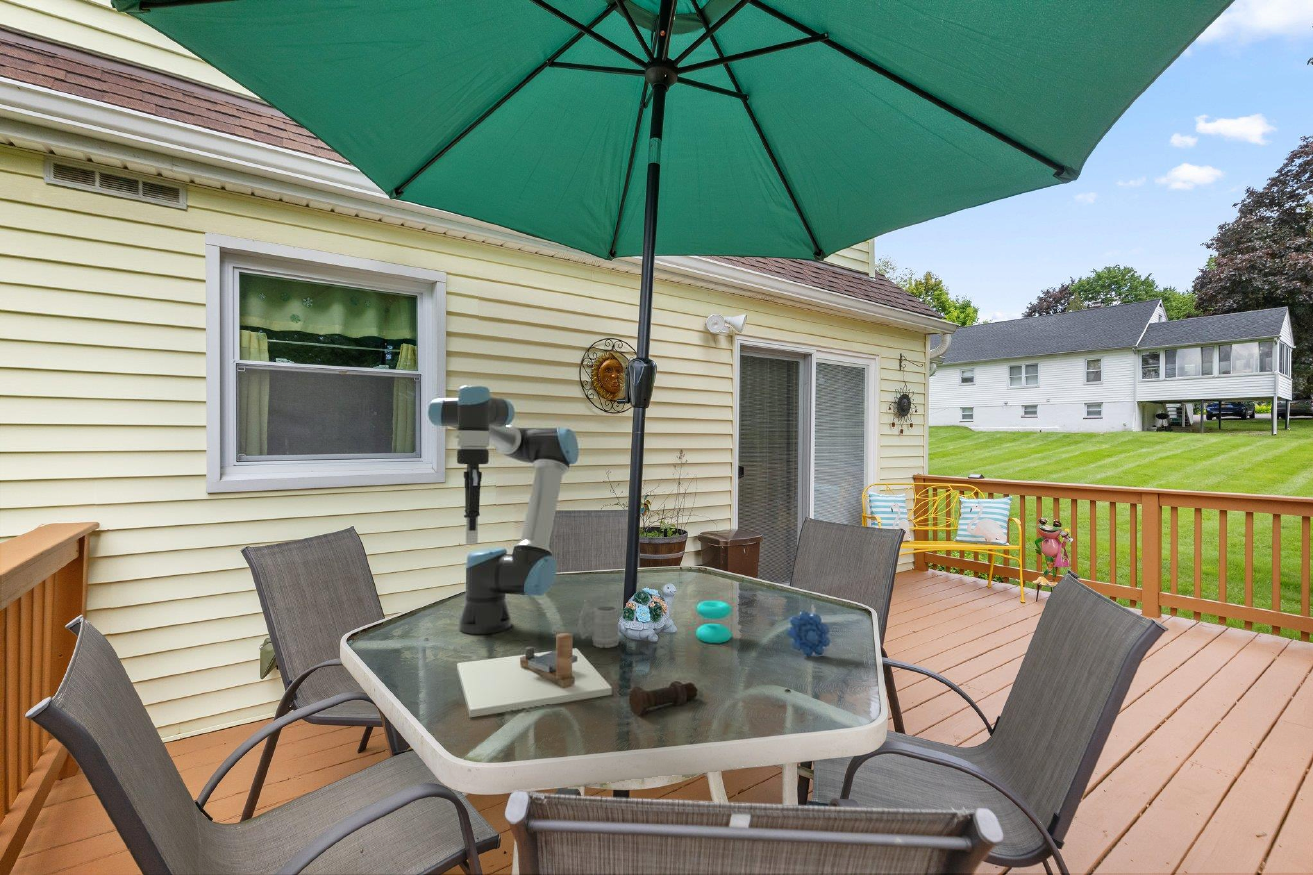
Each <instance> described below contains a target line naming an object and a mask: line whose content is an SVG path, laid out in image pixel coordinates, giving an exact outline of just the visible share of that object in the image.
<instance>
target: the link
mask: <svg viewBox="0 0 1313 875" xmlns="http://www.w3.org/2000/svg"><path fill="white" fill-rule="evenodd" d="M573 636H574V635H573V634H572V633H569V632H565V633H564V632H563V633H557V634H556V636H555V637H556V640H555V641H556V642H555V646H556V648H555V650H556V670H554V671H552V672H546V671H543V670H540V669H537V668H534V667H531V666H528V660H530V659H533V658H536V657H538V656H536V655H534V654H535V647H533V646H527V647H525V655H526V656H523V657H520V666H522V667H525V668H529V669H531V670H533V671H534V672H536V673H538V674H540V675H542V676H543V677H545V678H547V679H549V680H551V681H552V682H554V683H556V684H558V685H560V686H561V687H566V686H569V685H573V684H574V683H575V677H573V676H572V649H573V644H574V643H573V642H574V641H573V640H574V639H573Z"/></svg>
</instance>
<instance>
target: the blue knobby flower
mask: <svg viewBox="0 0 1313 875" xmlns="http://www.w3.org/2000/svg"><path fill="white" fill-rule="evenodd" d="M789 623H790V625H791V626H789V627H788V628H787V630H786V633H787V636H788V637H789V638H790V639H792V640H791V646H792V648H793V649H794V650H796V651H800V650H801V652H802V655H804V656H805V655H806V656H805V657H808V656H810V657H812V656H811V655H813V654H815V655H816V654H817V655H816V656H821V655H822V656H823V654H824V651H825V650H824V647H825V648H827V647H829V646H830V645H831V640H830V638H829V637H828V635H829V633H830V627H829V626H828V625H827V624H826V623H823V622H822V617H821V616H820V615H819V614H817V613H813V614H810V612H808V611H805V610H802V611H801V610H800V612H799V614H798V616H797V615H793V616H791V617H790V619H789Z"/></svg>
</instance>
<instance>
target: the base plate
mask: <svg viewBox="0 0 1313 875" xmlns="http://www.w3.org/2000/svg"><path fill="white" fill-rule="evenodd" d="M550 652H552V651H544V652H543V651H542V652H534V655H536V656H538V657H539V656H541V655H544V654H547V653H550ZM572 655H575V656H577V662H574V663H572V676H573V677H575V683H574V684H573V685H569V686H566V687H561V686H560V685H558V684H556V683H554V682H552V681H551V680H549V679H547V678H545V677H543V676H542V675H540V674H538V673H536V672H534V671H533V670H531V669H529V668H525V667H522V666H520V657H523V656H526V654H520V655H511V656H506V657H504V656H503V657H497V658H496V657H495V658H487V659H480V660H471V661H465V662H457V663H456V671H457V674H458V677H459V682H460V685H461V690H462V694H463V697H464V701H465V704H466V708H467V712H468V715H469V716H468V717H469V718H474V717H481V716H488V715H493V714H499V713H500V714H501V713H505V712H506V711H507V712H512V711H511V710H513V711H517V710H518V709H519V710H523V709H522V708H525V709H530V708H529V707H532V708H535V707H534V706H538V707H543V706H542V705H544V706H546V705H545V704H550V705H554V704H556V705H557V704H562V703H563V704H564V703H570V702H574V701H580V700H586V699H593V698H598V697H599V698H600V697H604V696H605V697H606V696H611V695H612V694H613V692H612V686H611V685H610V684H609V683H608V681H606V679H604V677H603V676H602V675H601V674H600V673H599V671H597V669H595V667H594V666H593V665H592V664H591V662H589V661H588V659H587V658H586V657H585V656H584V655H583V653H581V651H580V650H579V649H578V648H576V647H575V648H572ZM519 710H518V711H519Z"/></svg>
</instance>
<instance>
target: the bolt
mask: <svg viewBox="0 0 1313 875" xmlns="http://www.w3.org/2000/svg"><path fill="white" fill-rule="evenodd" d="M698 690H699V689H698V688H697V686H696V685H695V684H694V683H693V682H687V683H682V682H680V681H679V680H675V681H672V682H670V684H669V685H668V686H666V687H661V688H657V689H651V690H645V689H643V688H642V687H640V686H639V685H636V686H633V687H632V688H631V690H630V692H629V697H628V699H629V700H628V701H629V702H628V703H629V707H630V709H631V712H632V713H633V714H635V715H636V716H637V715H638V717H643V716H645V715H646V714H647V711H648V709H651V708H656V707H659V706H665V705H669V704H674V705H675V706H682V705H684V704H685V703H686V700H691V699H696V697H697V696H698Z"/></svg>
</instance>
